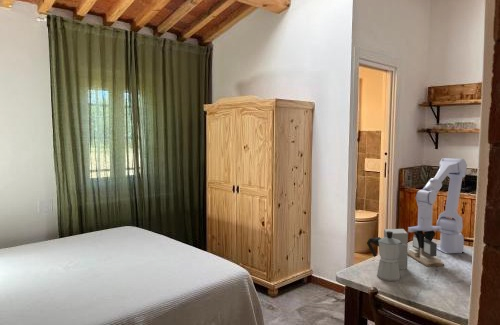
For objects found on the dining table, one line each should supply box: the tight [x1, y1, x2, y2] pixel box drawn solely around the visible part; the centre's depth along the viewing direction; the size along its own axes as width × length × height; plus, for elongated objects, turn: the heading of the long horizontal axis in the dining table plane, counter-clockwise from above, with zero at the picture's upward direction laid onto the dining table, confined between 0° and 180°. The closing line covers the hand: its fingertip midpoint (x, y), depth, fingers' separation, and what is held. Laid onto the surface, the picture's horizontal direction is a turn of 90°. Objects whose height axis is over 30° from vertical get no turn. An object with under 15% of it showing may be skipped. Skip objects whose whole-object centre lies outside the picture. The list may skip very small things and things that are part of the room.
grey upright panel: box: [412, 234, 438, 257], centre depth 165 cm, size 14×3×6 cm, turn 7°
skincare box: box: [383, 228, 409, 270], centre depth 155 cm, size 8×7×16 cm
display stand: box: [408, 247, 445, 268], centre depth 165 cm, size 8×17×5 cm, turn 7°
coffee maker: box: [366, 231, 406, 282], centre depth 145 cm, size 15×9×18 cm, turn 57°
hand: (424, 247), depth 165 cm, fingers closed on grey upright panel, 2 cm apart
